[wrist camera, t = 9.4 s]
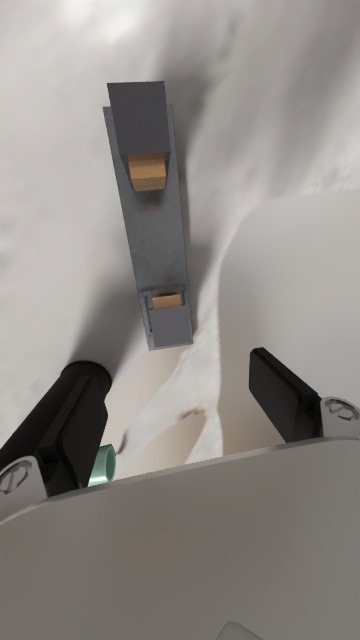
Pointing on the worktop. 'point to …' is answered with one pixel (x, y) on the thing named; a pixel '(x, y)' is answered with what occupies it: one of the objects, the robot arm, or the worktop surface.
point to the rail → (149, 192)
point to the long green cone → (103, 465)
